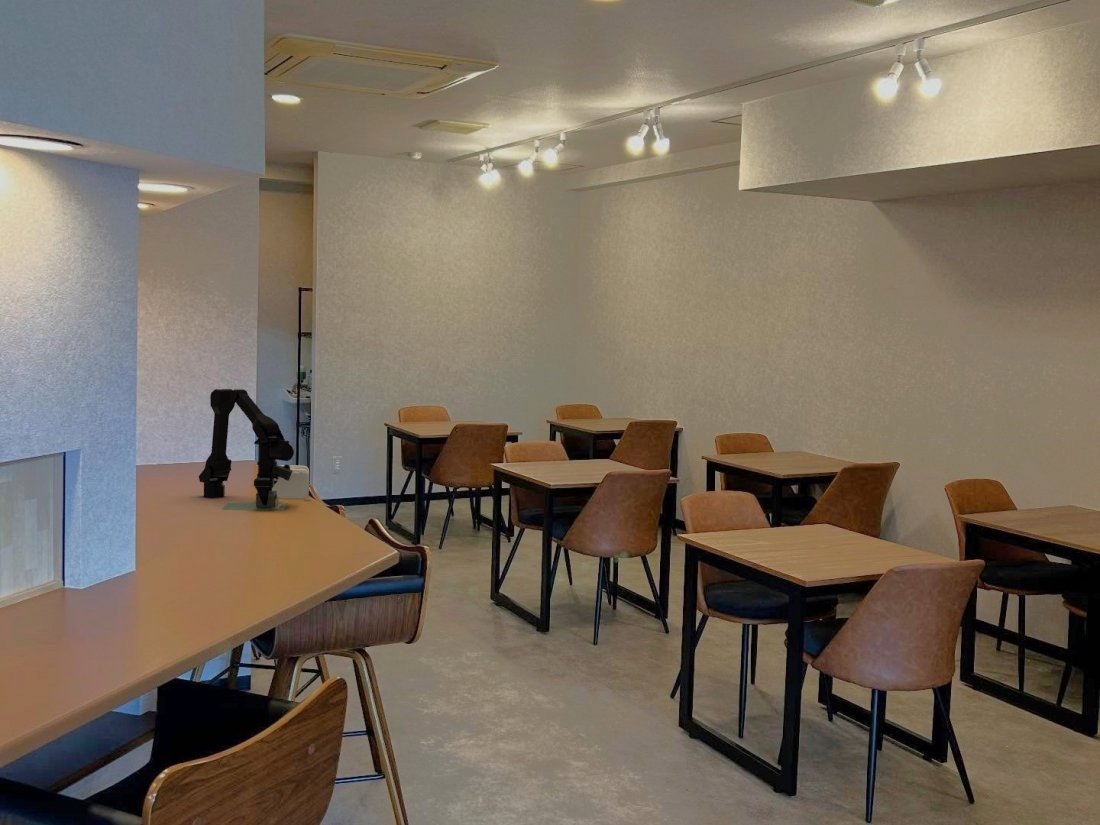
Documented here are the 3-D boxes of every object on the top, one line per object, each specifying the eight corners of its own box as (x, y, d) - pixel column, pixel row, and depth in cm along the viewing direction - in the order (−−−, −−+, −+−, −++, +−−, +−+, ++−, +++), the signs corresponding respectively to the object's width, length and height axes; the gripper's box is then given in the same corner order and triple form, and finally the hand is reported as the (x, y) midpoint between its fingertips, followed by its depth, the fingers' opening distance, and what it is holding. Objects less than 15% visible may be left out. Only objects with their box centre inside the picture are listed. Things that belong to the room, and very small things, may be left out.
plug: (255, 507, 347) (256, 493, 346) (258, 503, 354) (258, 490, 353) (274, 507, 347) (274, 494, 347) (276, 503, 355) (276, 490, 354)
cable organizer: (311, 496, 378) (311, 465, 378) (307, 501, 368) (308, 469, 367) (269, 496, 377) (270, 464, 376) (265, 500, 366) (265, 468, 365)
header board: (221, 511, 342) (221, 500, 341) (228, 504, 356) (228, 493, 355) (283, 512, 345) (283, 501, 345) (287, 505, 359) (287, 494, 358)
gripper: (288, 462, 341) (287, 508, 343) (293, 455, 360) (293, 499, 361) (253, 461, 340) (253, 508, 341) (261, 454, 358) (260, 498, 359)
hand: (266, 503), depth 351 cm, fingers closed on plug, 7 cm apart
